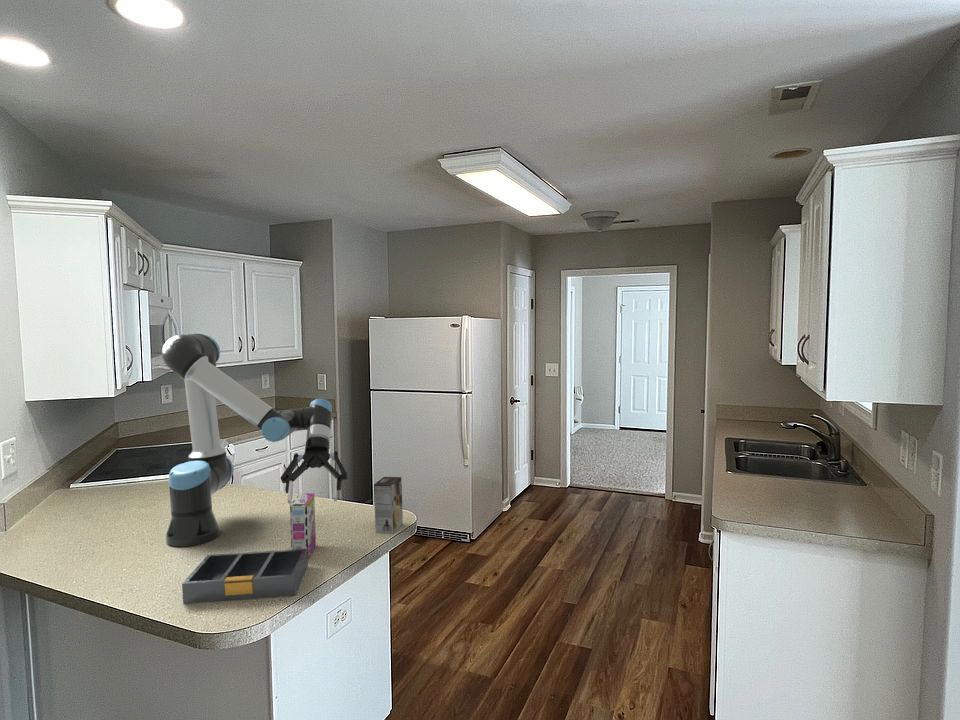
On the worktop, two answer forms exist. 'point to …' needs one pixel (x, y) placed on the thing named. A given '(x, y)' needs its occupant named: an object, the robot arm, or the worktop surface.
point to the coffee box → (388, 504)
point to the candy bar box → (303, 522)
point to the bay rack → (246, 576)
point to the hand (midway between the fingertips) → (312, 500)
